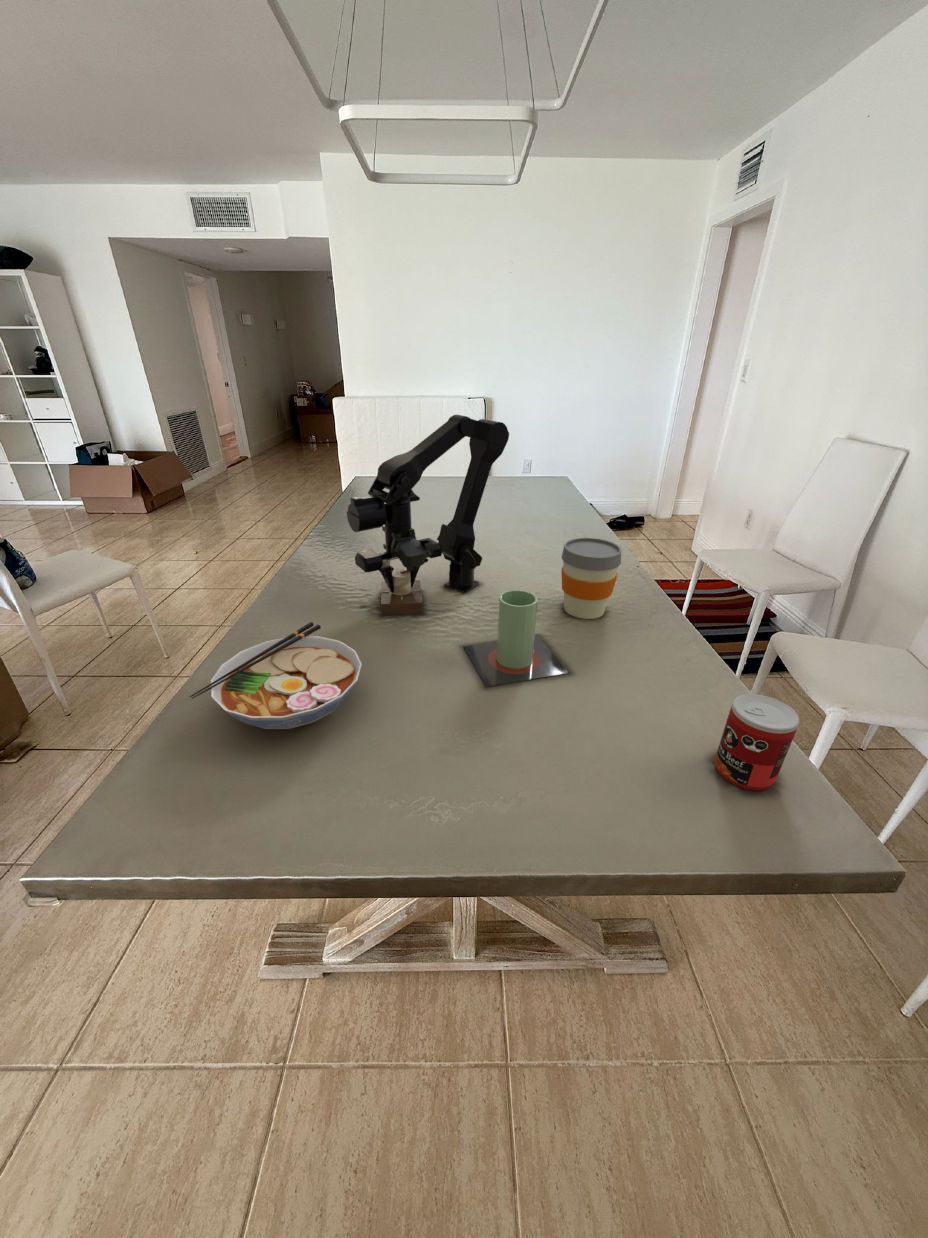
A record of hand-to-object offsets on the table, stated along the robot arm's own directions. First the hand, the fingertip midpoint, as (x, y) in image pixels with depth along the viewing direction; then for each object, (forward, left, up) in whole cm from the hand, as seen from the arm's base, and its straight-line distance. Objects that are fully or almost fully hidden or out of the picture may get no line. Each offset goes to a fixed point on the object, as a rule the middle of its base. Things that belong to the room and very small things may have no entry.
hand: (401, 589), depth 118 cm
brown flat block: (0, 0, -4) cm, 4 cm away
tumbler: (+6, +33, -3) cm, 34 cm away
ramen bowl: (+40, +10, -4) cm, 41 cm away
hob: (+6, +33, -4) cm, 34 cm away
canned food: (+14, +74, -4) cm, 75 cm away
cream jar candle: (0, 0, 0) cm, 0 cm away
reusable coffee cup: (-21, +36, -4) cm, 42 cm away
